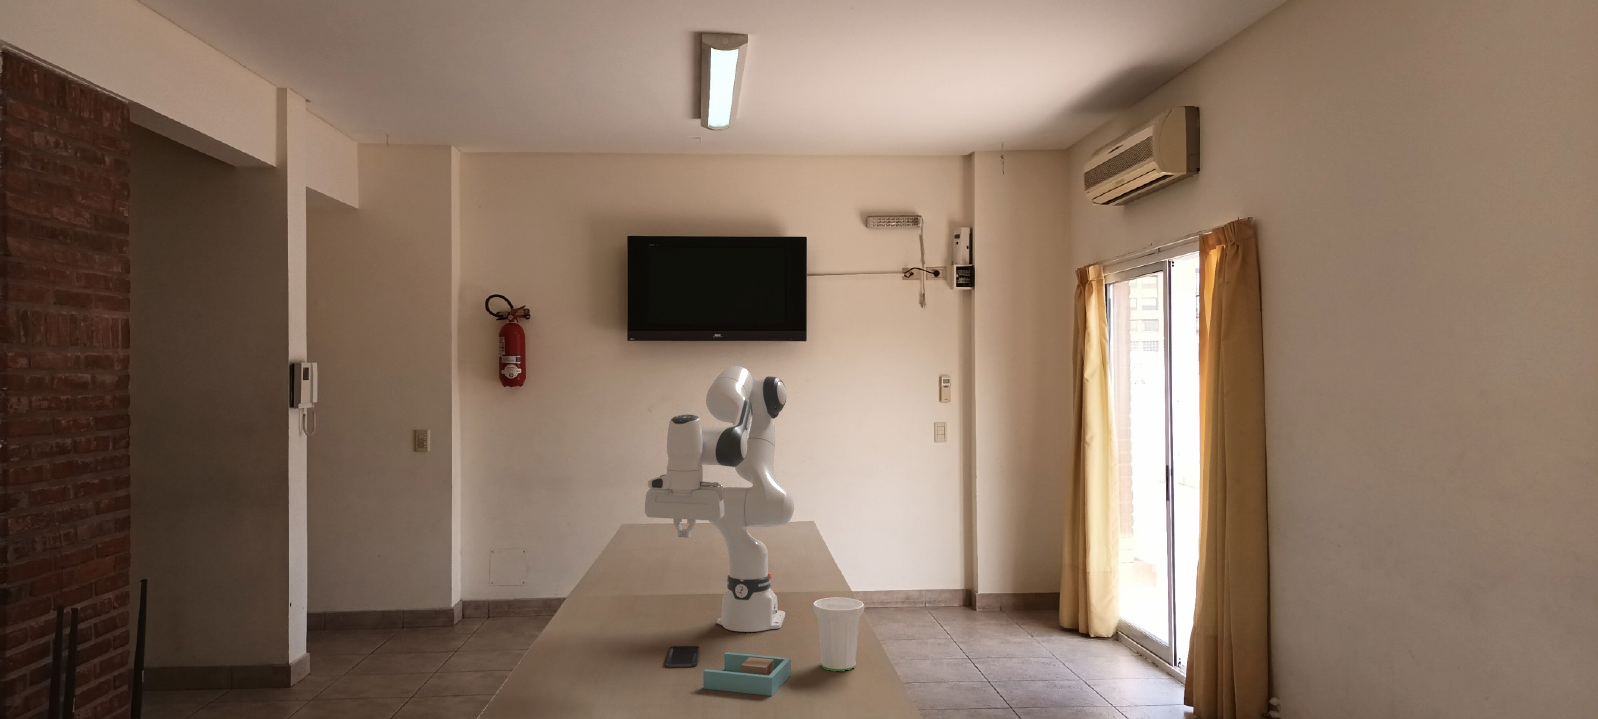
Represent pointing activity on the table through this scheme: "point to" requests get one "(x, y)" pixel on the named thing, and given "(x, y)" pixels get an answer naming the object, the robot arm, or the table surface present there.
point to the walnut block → (758, 666)
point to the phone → (682, 657)
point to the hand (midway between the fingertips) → (684, 537)
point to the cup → (838, 631)
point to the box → (747, 676)
